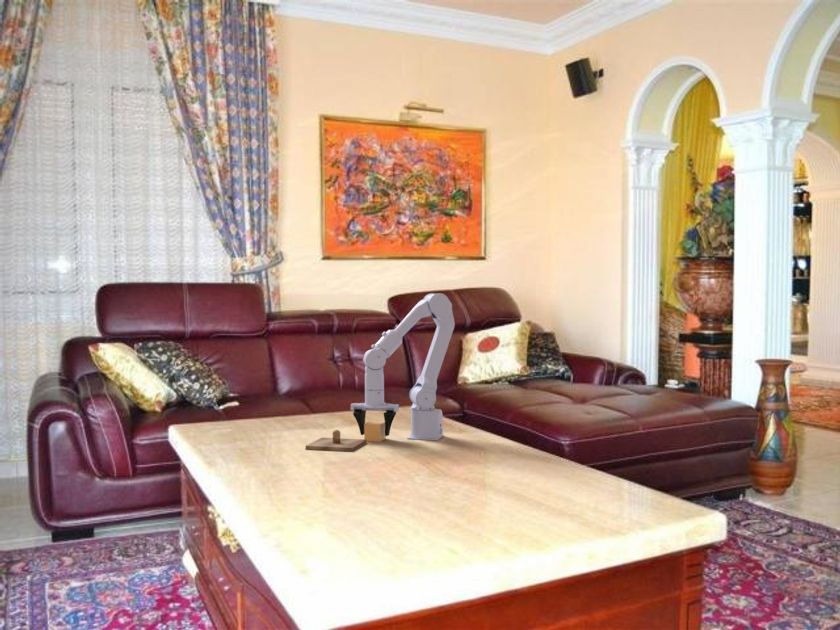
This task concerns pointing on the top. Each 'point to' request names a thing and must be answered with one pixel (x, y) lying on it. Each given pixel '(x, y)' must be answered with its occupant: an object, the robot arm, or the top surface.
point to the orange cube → (374, 431)
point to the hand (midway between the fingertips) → (374, 434)
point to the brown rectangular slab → (336, 443)
